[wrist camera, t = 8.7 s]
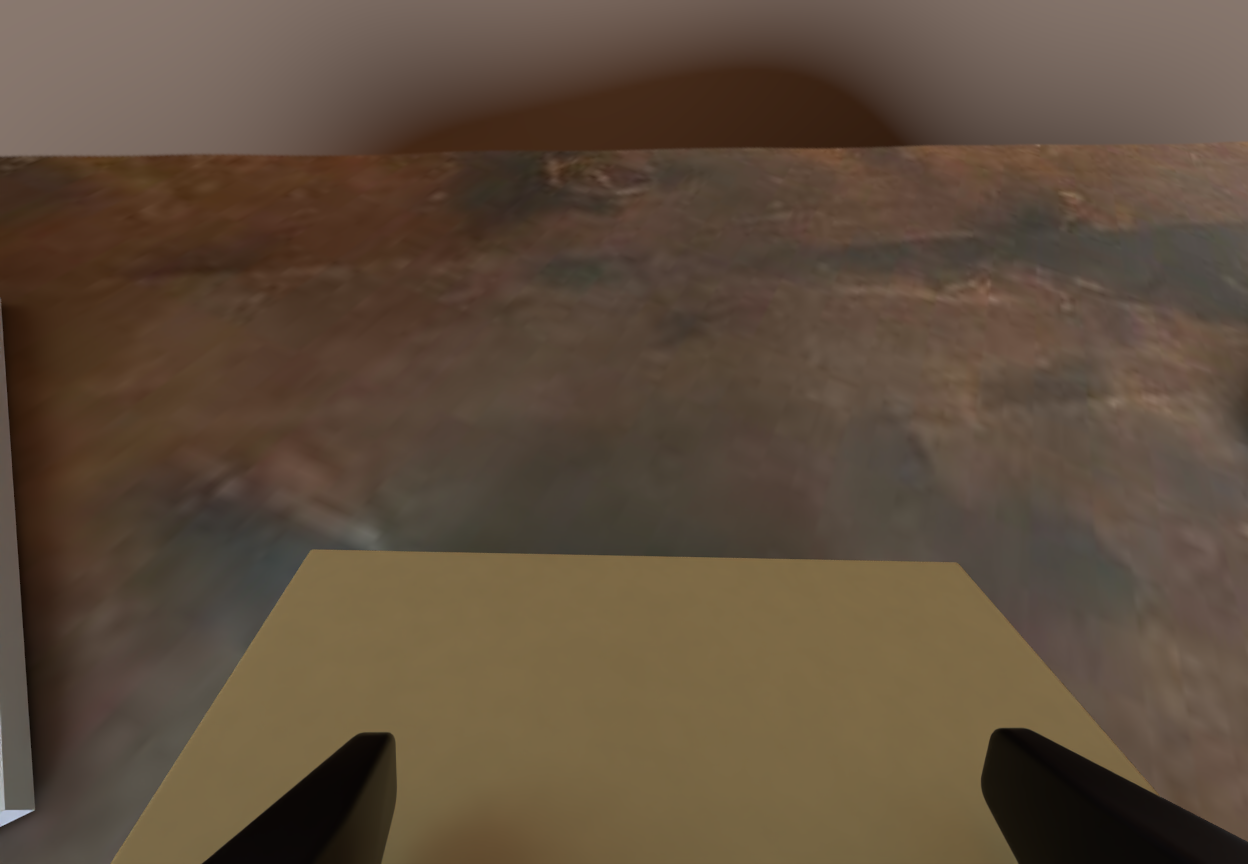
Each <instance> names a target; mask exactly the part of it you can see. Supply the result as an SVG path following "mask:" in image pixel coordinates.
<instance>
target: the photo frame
mask: <svg viewBox="0 0 1248 864" xmlns="http://www.w3.org/2000/svg"><path fill="white" fill-rule="evenodd" d="M34 810H35V800H34V785H33V770H32V755H31V740H30V726H29V711H28V696H27V681H26V666H25V652H24V637H23V622H22V607H21V592H20V577H19V563H18V548H17V533H16V518H15V503H14V489H13V474H12V459H11V444H10V429H9V415H8V400H7V385H6V370H5V355H4V341H3V326H2V311H1V298H0V827H1V826H3V825H5V824H7V823H9V822H11V821H13V820H15V819H17V818H20V817H22V816H24V815H26V814H28V813H30V812H32V811H34Z"/></svg>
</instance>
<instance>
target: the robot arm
mask: <svg viewBox="0 0 1248 864" xmlns="http://www.w3.org/2000/svg"><path fill="white" fill-rule="evenodd" d="M981 789H982V793H983V796H984V799H985V801H986V804H987V805H988V807H989V809H990V811H991V813H992V815H993V817H994V819H995V821H996V822H997V824H998V826H999V828H1000V830H1001V832H1002V834H1003V836H1004V838H1005V840H1006V841H1007V843H1008V845H1009V847H1010V849H1011V851H1012V853H1013V855H1014V857H1015V858H1016V860H1017V862H1018V864H1248V842H1247V841H1245V840H1243V839H1241V838H1239V837H1237V836H1235V835H1233V834H1231V833H1229V832H1227V831H1225V830H1224V829H1222V828H1220V827H1218V826H1216V825H1214V824H1212V823H1210V822H1208V821H1206V820H1204V819H1202V818H1200V817H1198V816H1197V815H1195V814H1193V813H1191V812H1189V811H1187V810H1185V809H1183V808H1181V807H1179V806H1177V805H1175V804H1173V803H1171V802H1170V801H1168V800H1166V799H1164V798H1162V797H1160V796H1158V795H1156V794H1154V793H1152V792H1150V791H1148V790H1146V789H1144V788H1142V787H1141V786H1139V785H1137V784H1135V783H1133V782H1131V781H1129V780H1127V779H1125V778H1123V777H1121V776H1119V775H1117V774H1115V773H1114V772H1112V771H1110V770H1108V769H1106V768H1104V767H1102V766H1100V765H1098V764H1096V763H1094V762H1092V761H1090V760H1088V759H1087V758H1085V757H1083V756H1081V755H1079V754H1077V753H1075V752H1073V751H1071V750H1069V749H1067V748H1065V747H1063V746H1061V745H1059V744H1058V743H1056V742H1054V741H1052V740H1050V739H1048V738H1046V737H1044V736H1042V735H1040V734H1038V733H1036V732H1034V731H1032V730H1030V729H1027V728H998V729H996V730H994V732H993V733H992V734H991V736H990V739H989V744H988V748H987V753H986V757H985V761H984V766H983V770H982V775H981ZM396 797H397V771H396V742H395V738H394V735H393V734H391V733H390V732H363V733H359V734H357V735H355V736H354V737H352V738H351V739H350V740H349V741H348V742H346V743H345V744H344V745H343V746H342V747H340V748H339V749H338V750H337V751H336V752H335V753H333V754H332V755H331V756H330V757H329V758H327V759H326V760H325V761H324V762H323V763H321V764H320V765H319V766H318V767H317V768H315V769H314V770H313V771H312V772H311V773H309V774H308V775H307V776H306V777H305V778H303V779H302V780H301V781H300V782H299V783H297V784H296V785H295V786H294V787H293V788H292V789H290V790H289V791H288V792H287V793H286V794H284V795H283V796H282V797H281V798H280V799H278V800H277V801H276V802H275V803H274V804H272V805H271V806H270V807H269V808H268V809H266V810H265V811H264V812H263V813H262V814H260V815H259V816H258V817H257V818H256V819H255V820H253V821H252V822H251V823H250V824H249V825H247V826H246V827H245V828H244V829H243V830H241V831H240V832H239V833H238V834H237V835H235V836H234V837H233V838H232V839H231V840H229V841H228V842H227V843H226V844H225V845H223V846H222V847H221V848H220V849H219V850H217V851H216V852H215V853H214V854H213V855H212V856H210V857H209V858H208V859H207V860H206V861H204V862H203V863H202V864H381V862H382V858H383V854H384V850H385V846H386V842H387V838H388V834H389V830H390V826H391V822H392V818H393V814H394V810H395V804H396Z"/></svg>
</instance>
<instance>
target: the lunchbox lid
mask: <svg viewBox="0 0 1248 864" xmlns="http://www.w3.org/2000/svg"><path fill="white" fill-rule="evenodd" d="M998 728H1027V729H1030V730H1032V731H1034V732H1036V733H1038V734H1040V735H1042V736H1044V737H1046V738H1048V739H1050V740H1052V741H1054V742H1056V743H1058V744H1059V745H1061V746H1063V747H1065V748H1067V749H1069V750H1071V751H1073V752H1075V753H1077V754H1079V755H1081V756H1083V757H1085V758H1087V759H1088V760H1090V761H1092V762H1094V763H1096V764H1098V765H1100V766H1102V767H1104V768H1106V769H1108V770H1110V771H1112V772H1114V773H1115V774H1117V775H1119V776H1121V777H1123V778H1125V779H1127V780H1129V781H1131V782H1133V783H1135V784H1137V785H1139V786H1141V787H1142V788H1144V789H1146V790H1148V791H1150V792H1152V793H1154V794H1156V795H1158V796H1160V795H1159V794H1158V793H1157V792H1156V791H1155V790H1154V788H1153V787H1152V786H1151V785H1150V784H1149V783H1148V782H1147V780H1146V779H1145V778H1144V777H1143V776H1142V775H1141V773H1140V772H1139V771H1138V770H1137V769H1136V768H1135V767H1134V765H1133V764H1132V763H1131V762H1130V761H1129V760H1128V758H1127V757H1126V756H1125V755H1124V754H1123V753H1122V752H1121V750H1120V749H1119V748H1118V747H1117V746H1116V745H1115V743H1114V742H1113V741H1112V740H1111V739H1110V738H1109V737H1108V735H1107V734H1106V733H1105V732H1104V731H1103V730H1102V729H1101V727H1100V726H1099V725H1098V724H1097V723H1096V722H1095V720H1094V719H1093V718H1092V717H1091V716H1090V715H1089V714H1088V712H1087V711H1086V710H1085V709H1084V708H1083V707H1082V705H1081V704H1080V703H1079V702H1078V701H1077V700H1076V699H1075V697H1074V696H1073V695H1072V694H1071V693H1070V692H1069V690H1068V689H1067V688H1066V687H1065V686H1064V685H1063V684H1062V682H1061V681H1060V680H1059V679H1058V678H1057V677H1056V675H1055V674H1054V673H1053V672H1052V671H1051V670H1050V669H1049V667H1048V666H1047V665H1046V664H1045V663H1044V662H1043V661H1042V659H1041V658H1040V657H1039V656H1038V655H1037V654H1036V652H1035V651H1034V650H1033V649H1032V648H1031V647H1030V646H1029V644H1028V643H1027V642H1026V641H1025V640H1024V639H1023V637H1022V636H1021V635H1020V634H1019V633H1018V632H1017V631H1016V629H1015V628H1014V627H1013V626H1012V625H1011V624H1010V622H1009V621H1008V620H1007V619H1006V618H1005V617H1004V616H1003V614H1002V613H1001V612H1000V611H999V610H998V609H997V607H996V606H995V605H994V604H993V603H992V602H991V601H990V599H989V598H988V597H987V596H986V595H985V594H984V593H983V591H982V590H981V589H980V588H979V587H978V586H977V584H976V583H975V582H974V581H973V580H972V579H971V578H970V576H969V575H968V574H967V573H966V572H965V571H964V569H963V568H962V567H961V566H960V565H959V564H958V563H956V562H912V561H862V560H812V559H762V558H712V557H663V556H613V555H563V554H513V553H463V552H413V551H364V550H311V551H310V552H309V554H308V555H307V557H306V558H305V560H304V561H303V563H302V565H301V566H300V568H299V569H298V571H297V572H296V574H295V575H294V577H293V579H292V580H291V582H290V583H289V585H288V586H287V588H286V590H285V591H284V593H283V594H282V596H281V597H280V599H279V601H278V602H277V604H276V605H275V607H274V608H273V610H272V611H271V613H270V615H269V616H268V618H267V619H266V621H265V622H264V624H263V626H262V627H261V629H260V630H259V632H258V633H257V635H256V637H255V638H254V640H253V641H252V643H251V644H250V646H249V647H248V649H247V651H246V652H245V654H244V655H243V657H242V658H241V660H240V662H239V663H238V665H237V666H236V668H235V669H234V671H233V673H232V674H231V676H230V677H229V679H228V680H227V682H226V683H225V685H224V687H223V688H222V690H221V691H220V693H219V694H218V696H217V698H216V699H215V701H214V702H213V704H212V705H211V707H210V709H209V710H208V712H207V713H206V715H205V716H204V718H203V719H202V721H201V723H200V724H199V726H198V727H197V729H196V730H195V732H194V734H193V735H192V737H191V738H190V740H189V741H188V743H187V745H186V746H185V748H184V749H183V751H182V752H181V754H180V755H179V757H178V759H177V760H176V762H175V763H174V765H173V766H172V768H171V770H170V771H169V773H168V774H167V776H166V777H165V779H164V781H163V782H162V784H161V785H160V787H159V788H158V790H157V791H156V793H155V795H154V796H153V798H152V799H151V801H150V802H149V804H148V806H147V807H146V809H145V810H144V812H143V813H142V815H141V817H140V818H139V820H138V821H137V823H136V824H135V826H134V827H133V829H132V831H131V832H130V834H129V835H128V837H127V838H126V840H125V842H124V843H123V845H122V846H121V848H120V849H119V851H118V853H117V854H116V856H115V857H114V859H113V860H112V862H111V863H110V864H202V863H203V862H204V861H206V860H207V859H208V858H209V857H210V856H212V855H213V854H214V853H215V852H216V851H217V850H219V849H220V848H221V847H222V846H223V845H225V844H226V843H227V842H228V841H229V840H231V839H232V838H233V837H234V836H235V835H237V834H238V833H239V832H240V831H241V830H243V829H244V828H245V827H246V826H247V825H249V824H250V823H251V822H252V821H253V820H255V819H256V818H257V817H258V816H259V815H260V814H262V813H263V812H264V811H265V810H266V809H268V808H269V807H270V806H271V805H272V804H274V803H275V802H276V801H277V800H278V799H280V798H281V797H282V796H283V795H284V794H286V793H287V792H288V791H289V790H290V789H292V788H293V787H294V786H295V785H296V784H297V783H299V782H300V781H301V780H302V779H303V778H305V777H306V776H307V775H308V774H309V773H311V772H312V771H313V770H314V769H315V768H317V767H318V766H319V765H320V764H321V763H323V762H324V761H325V760H326V759H327V758H329V757H330V756H331V755H332V754H333V753H335V752H336V751H337V750H338V749H339V748H340V747H342V746H343V745H344V744H345V743H346V742H348V741H349V740H350V739H351V738H352V737H354V736H355V735H357V734H359V733H363V732H390V733H391V734H393V735H394V738H395V742H396V771H397V797H396V804H395V810H394V814H393V818H392V822H391V826H390V830H389V834H388V838H387V842H386V846H385V850H384V854H383V858H382V862H381V864H1018V862H1017V860H1016V858H1015V857H1014V855H1013V853H1012V851H1011V849H1010V847H1009V845H1008V843H1007V841H1006V840H1005V838H1004V836H1003V834H1002V832H1001V830H1000V828H999V826H998V824H997V822H996V821H995V819H994V817H993V815H992V813H991V811H990V809H989V807H988V805H987V804H986V801H985V799H984V796H983V793H982V789H981V775H982V770H983V766H984V761H985V757H986V753H987V748H988V744H989V739H990V736H991V734H992V733H993V732H994V730H996V729H998Z"/></svg>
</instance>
